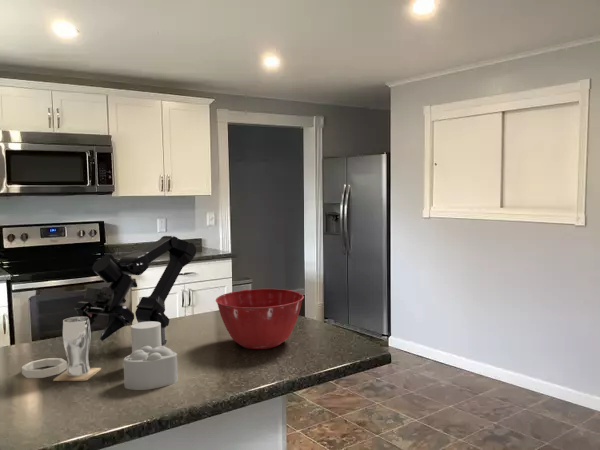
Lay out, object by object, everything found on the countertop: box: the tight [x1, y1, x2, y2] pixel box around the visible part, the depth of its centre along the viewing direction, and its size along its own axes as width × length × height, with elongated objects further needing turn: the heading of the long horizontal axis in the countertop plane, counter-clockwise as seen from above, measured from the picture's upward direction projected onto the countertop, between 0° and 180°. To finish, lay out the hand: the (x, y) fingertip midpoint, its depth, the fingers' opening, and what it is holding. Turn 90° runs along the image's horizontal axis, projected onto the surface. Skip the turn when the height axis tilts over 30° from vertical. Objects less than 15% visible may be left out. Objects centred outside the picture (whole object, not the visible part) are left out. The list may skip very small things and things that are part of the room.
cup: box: [130, 321, 162, 353], centre depth 147 cm, size 8×8×12 cm
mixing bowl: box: [215, 288, 305, 350], centre depth 167 cm, size 28×28×15 cm
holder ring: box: [21, 357, 68, 379], centre depth 144 cm, size 11×11×2 cm
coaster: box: [52, 367, 102, 382], centre depth 141 cm, size 9×9×1 cm
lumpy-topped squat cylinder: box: [123, 345, 179, 391], centre depth 134 cm, size 10×13×9 cm
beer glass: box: [62, 316, 92, 377], centre depth 141 cm, size 7×7×15 cm
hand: (89, 338), depth 144 cm, fingers open, 9 cm apart
